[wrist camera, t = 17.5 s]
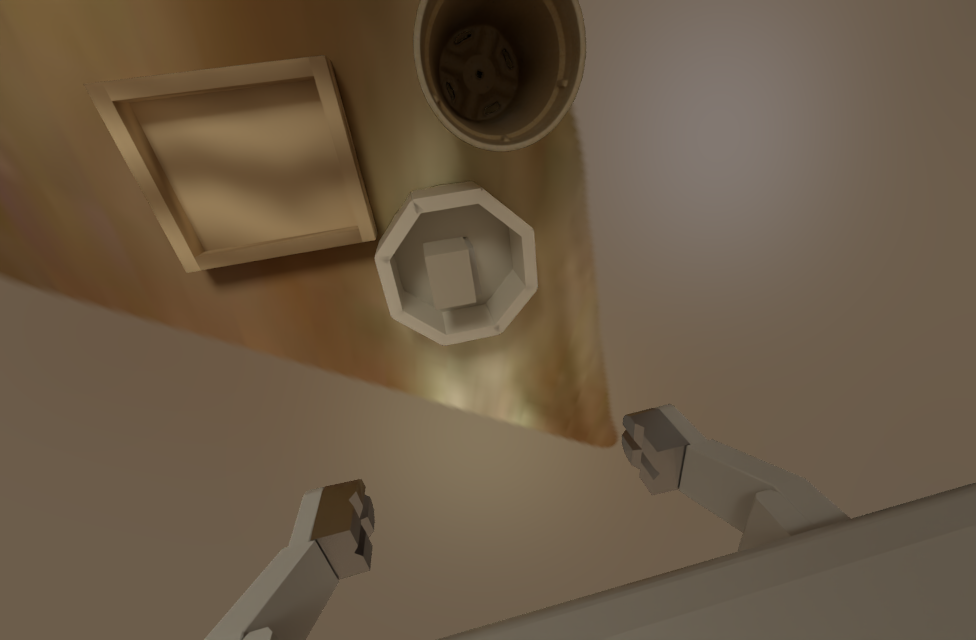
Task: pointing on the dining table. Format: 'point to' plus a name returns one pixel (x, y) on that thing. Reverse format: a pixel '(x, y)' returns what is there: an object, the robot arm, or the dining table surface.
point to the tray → (242, 159)
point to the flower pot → (500, 66)
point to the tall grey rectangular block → (473, 267)
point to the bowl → (498, 254)
